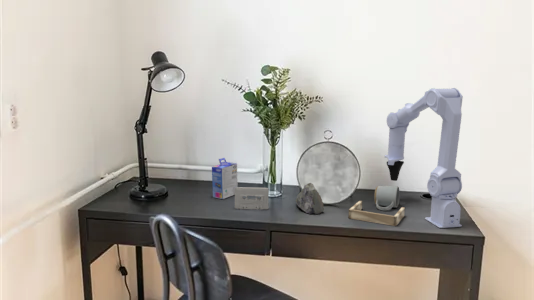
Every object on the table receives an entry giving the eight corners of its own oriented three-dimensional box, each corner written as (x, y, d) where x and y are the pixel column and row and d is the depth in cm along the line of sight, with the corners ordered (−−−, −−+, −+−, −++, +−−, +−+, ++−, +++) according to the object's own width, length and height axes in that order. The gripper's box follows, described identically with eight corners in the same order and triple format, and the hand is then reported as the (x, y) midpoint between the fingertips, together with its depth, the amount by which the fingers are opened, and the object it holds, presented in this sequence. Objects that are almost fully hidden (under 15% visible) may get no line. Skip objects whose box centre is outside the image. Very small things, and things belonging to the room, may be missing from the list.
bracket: (359, 208, 178) (359, 200, 178) (404, 215, 171) (404, 207, 171) (348, 218, 168) (348, 209, 167) (396, 226, 161) (396, 217, 160)
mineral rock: (296, 202, 185) (297, 176, 183) (325, 204, 183) (326, 178, 181) (292, 213, 172) (292, 185, 171) (323, 215, 171) (324, 187, 169)
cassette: (268, 208, 178) (268, 187, 177) (268, 209, 176) (268, 188, 175) (234, 207, 178) (234, 186, 177) (234, 209, 176) (234, 188, 175)
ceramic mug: (376, 201, 187) (378, 181, 186) (399, 204, 184) (400, 184, 183) (371, 210, 178) (372, 189, 176) (394, 213, 175) (396, 191, 173)
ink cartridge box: (227, 191, 199) (226, 155, 196) (238, 193, 196) (238, 157, 193) (211, 197, 190) (211, 160, 188) (222, 199, 187) (222, 162, 185)
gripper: (390, 140, 194) (388, 174, 196) (380, 146, 181) (378, 183, 184) (408, 142, 191) (406, 177, 193) (400, 148, 178) (397, 185, 180)
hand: (394, 180), depth 188 cm, fingers closed
